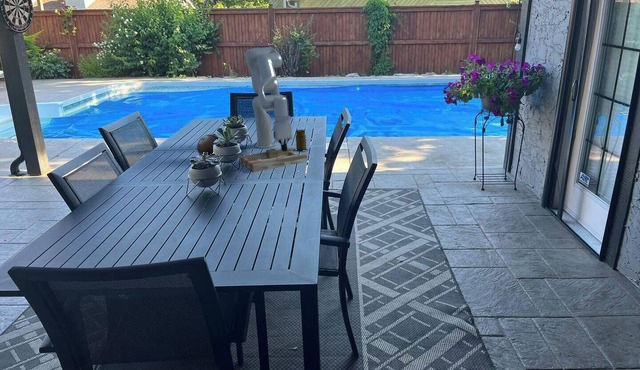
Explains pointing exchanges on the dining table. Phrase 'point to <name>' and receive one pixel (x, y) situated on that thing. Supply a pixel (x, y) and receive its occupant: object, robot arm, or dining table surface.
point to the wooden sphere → (206, 144)
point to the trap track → (272, 160)
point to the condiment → (300, 140)
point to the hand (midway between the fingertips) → (284, 150)
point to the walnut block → (272, 153)
